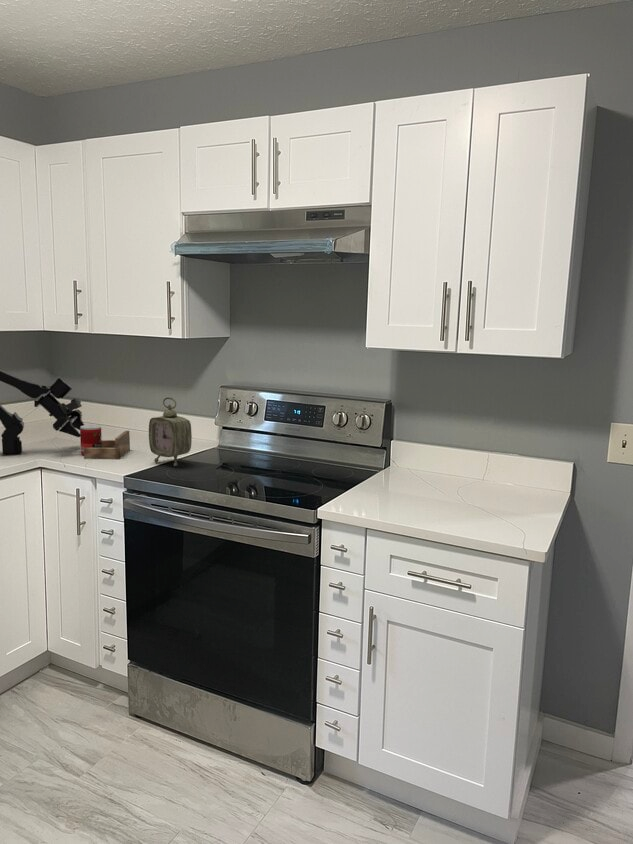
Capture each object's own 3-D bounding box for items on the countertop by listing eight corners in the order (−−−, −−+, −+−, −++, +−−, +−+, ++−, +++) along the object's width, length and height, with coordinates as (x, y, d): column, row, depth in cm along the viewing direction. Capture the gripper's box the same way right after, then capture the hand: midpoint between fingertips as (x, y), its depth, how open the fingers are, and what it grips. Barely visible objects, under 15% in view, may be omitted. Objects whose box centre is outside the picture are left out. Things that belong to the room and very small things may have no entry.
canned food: (96, 456, 249) (95, 428, 247) (77, 455, 250) (76, 427, 248) (105, 452, 256) (104, 425, 254) (86, 451, 257) (85, 424, 255)
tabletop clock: (149, 462, 241) (147, 396, 236) (167, 458, 248) (166, 394, 244) (175, 468, 232) (174, 400, 228) (194, 464, 240) (193, 397, 235)
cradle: (84, 458, 245) (83, 438, 244) (96, 449, 261) (95, 430, 260) (119, 458, 246) (119, 438, 244) (129, 449, 262) (129, 430, 260)
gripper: (59, 395, 244) (90, 424, 246) (75, 389, 262) (104, 416, 264) (39, 416, 245) (70, 444, 247) (57, 409, 263) (85, 435, 265)
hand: (83, 434), depth 256 cm, fingers open, 9 cm apart
